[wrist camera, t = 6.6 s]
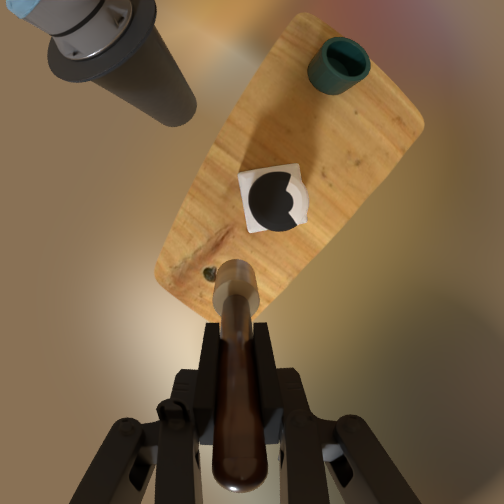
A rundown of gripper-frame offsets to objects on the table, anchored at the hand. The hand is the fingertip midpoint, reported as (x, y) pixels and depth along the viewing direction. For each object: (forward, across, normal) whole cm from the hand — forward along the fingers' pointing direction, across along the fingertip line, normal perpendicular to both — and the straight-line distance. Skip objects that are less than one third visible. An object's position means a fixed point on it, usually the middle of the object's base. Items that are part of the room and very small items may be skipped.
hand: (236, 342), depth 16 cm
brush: (+10, 0, 0) cm, 10 cm away
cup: (+28, +14, +26) cm, 41 cm away
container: (+28, +5, +6) cm, 29 cm away
